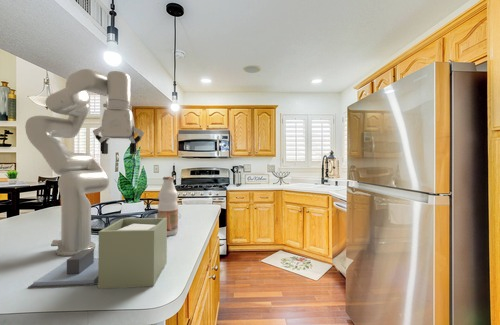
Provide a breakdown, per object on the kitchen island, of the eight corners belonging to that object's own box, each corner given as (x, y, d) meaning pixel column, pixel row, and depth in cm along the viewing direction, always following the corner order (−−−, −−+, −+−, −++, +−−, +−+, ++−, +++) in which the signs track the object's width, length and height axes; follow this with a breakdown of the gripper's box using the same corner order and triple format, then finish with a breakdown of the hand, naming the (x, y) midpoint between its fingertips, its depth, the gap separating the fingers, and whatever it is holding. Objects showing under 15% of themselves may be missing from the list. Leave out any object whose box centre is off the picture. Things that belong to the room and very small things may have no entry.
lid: (33, 285, 66) (33, 266, 66) (70, 261, 82) (70, 246, 82) (93, 283, 68) (93, 264, 68) (118, 259, 84) (118, 244, 84)
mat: (28, 288, 65) (27, 287, 65) (68, 262, 82) (68, 261, 82) (96, 285, 67) (96, 284, 67) (122, 260, 84) (122, 259, 84)
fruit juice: (156, 237, 110) (156, 177, 110) (159, 231, 119) (159, 176, 119) (177, 235, 112) (177, 177, 112) (178, 230, 121) (179, 176, 121)
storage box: (98, 288, 66) (98, 231, 66) (121, 264, 81) (121, 218, 80) (153, 285, 67) (154, 230, 67) (166, 263, 82) (166, 217, 82)
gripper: (87, 103, 81) (87, 153, 81) (140, 105, 83) (139, 154, 83) (99, 108, 88) (99, 154, 88) (147, 110, 90) (146, 154, 90)
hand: (118, 154), depth 85 cm, fingers open, 9 cm apart
